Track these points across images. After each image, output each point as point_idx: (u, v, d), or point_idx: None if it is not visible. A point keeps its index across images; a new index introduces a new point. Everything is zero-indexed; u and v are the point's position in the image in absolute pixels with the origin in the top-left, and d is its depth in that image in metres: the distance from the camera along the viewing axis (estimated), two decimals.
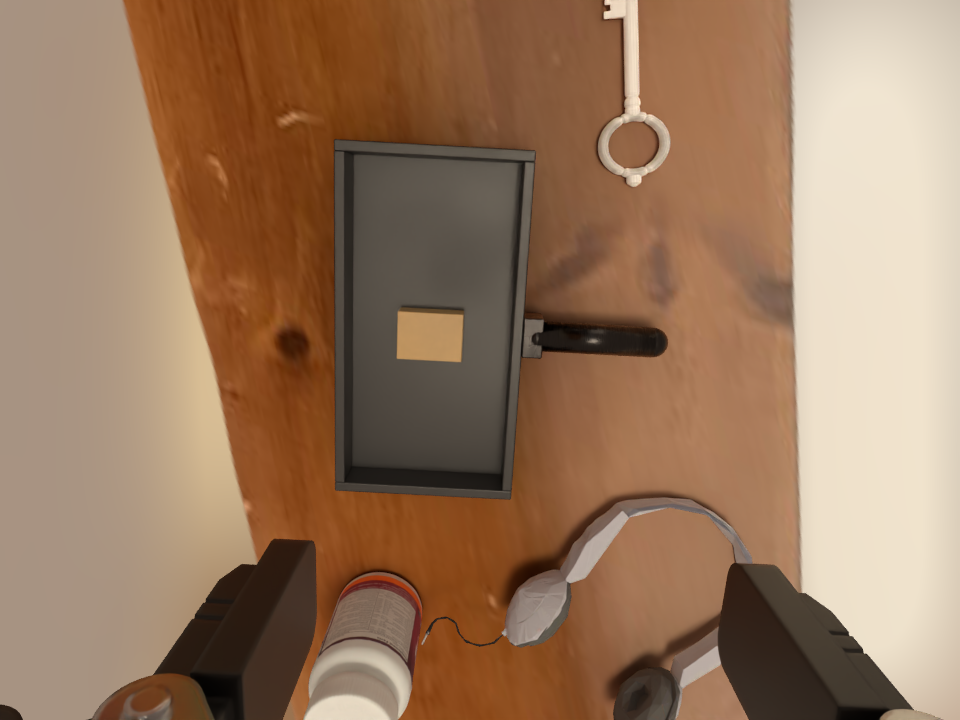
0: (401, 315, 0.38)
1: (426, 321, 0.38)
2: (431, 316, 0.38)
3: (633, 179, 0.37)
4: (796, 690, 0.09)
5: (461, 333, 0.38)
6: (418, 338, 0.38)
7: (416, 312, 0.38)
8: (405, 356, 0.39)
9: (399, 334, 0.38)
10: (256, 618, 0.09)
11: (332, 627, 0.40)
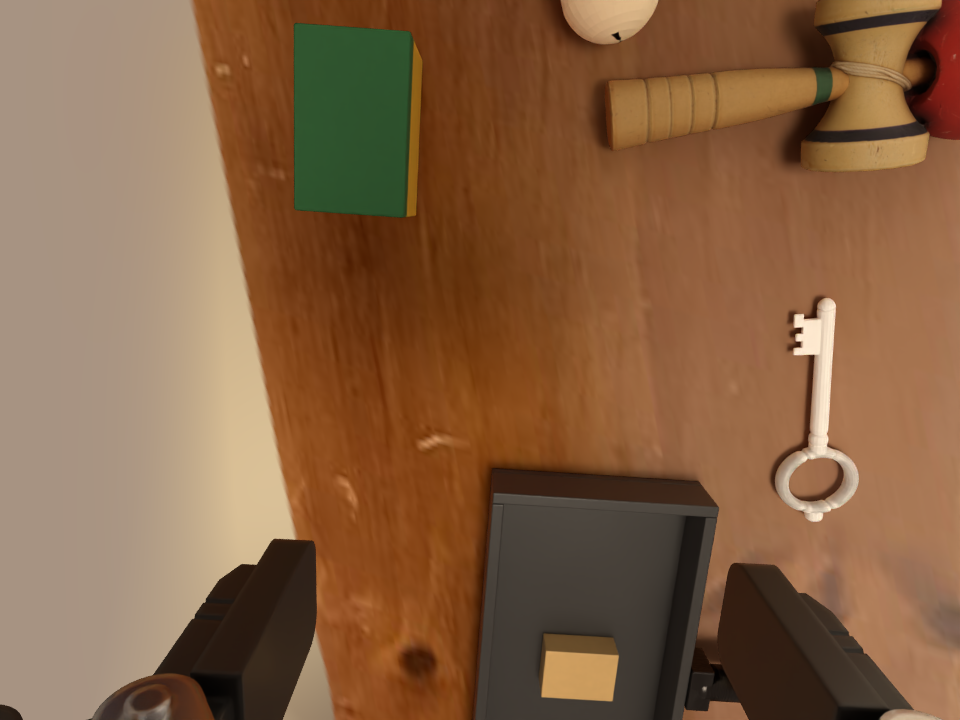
0: (549, 655, 0.34)
1: (577, 661, 0.34)
2: (583, 656, 0.34)
3: (815, 517, 0.33)
4: (796, 690, 0.09)
5: (615, 673, 0.34)
6: (566, 677, 0.34)
7: (566, 652, 0.34)
8: (551, 695, 0.35)
9: (546, 673, 0.34)
10: (256, 618, 0.09)
11: None
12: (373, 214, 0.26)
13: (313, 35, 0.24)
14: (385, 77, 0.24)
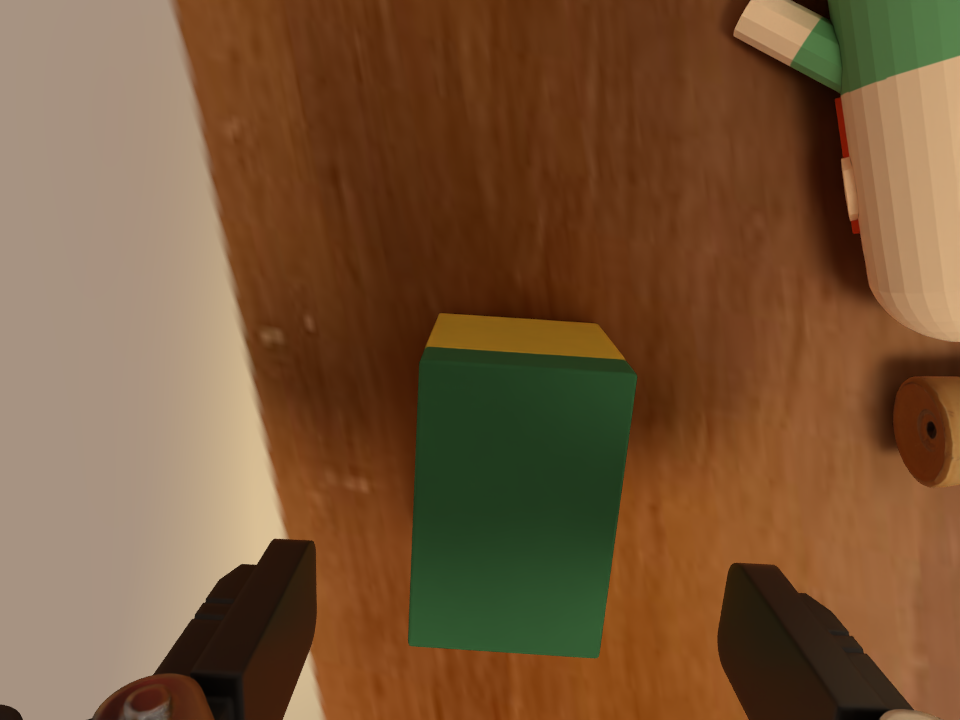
0: None
1: None
2: None
3: None
4: (796, 690, 0.09)
5: None
6: None
7: None
8: None
9: None
10: (256, 618, 0.09)
11: None
12: (546, 653, 0.15)
13: (455, 381, 0.13)
14: (584, 448, 0.13)
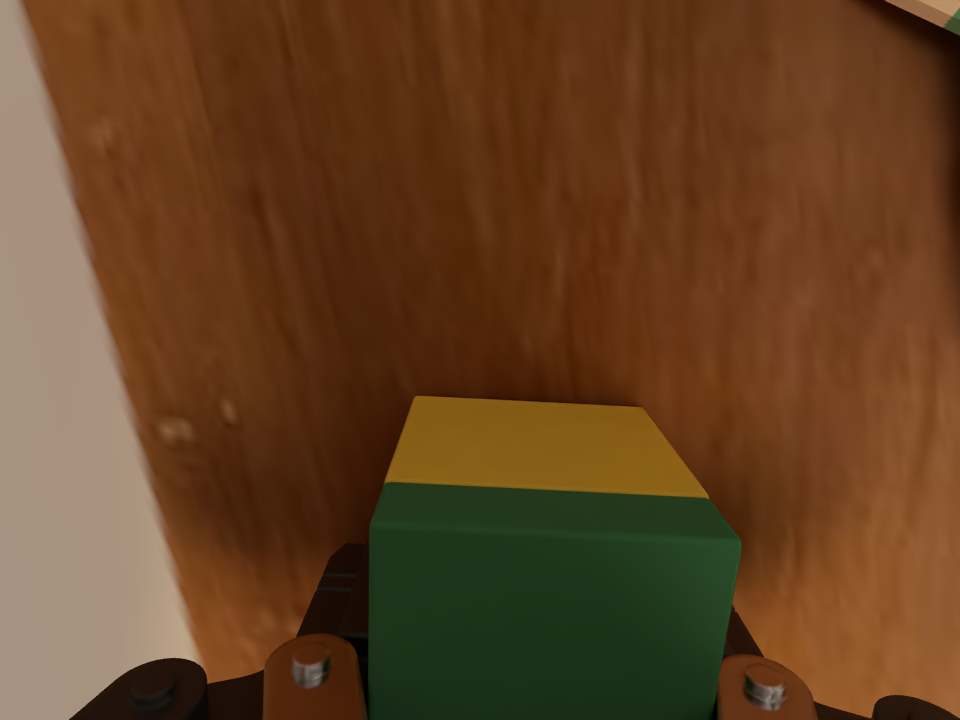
0: None
1: None
2: None
3: None
4: None
5: None
6: None
7: None
8: None
9: None
10: None
11: None
12: None
13: (432, 557, 0.08)
14: (651, 660, 0.08)
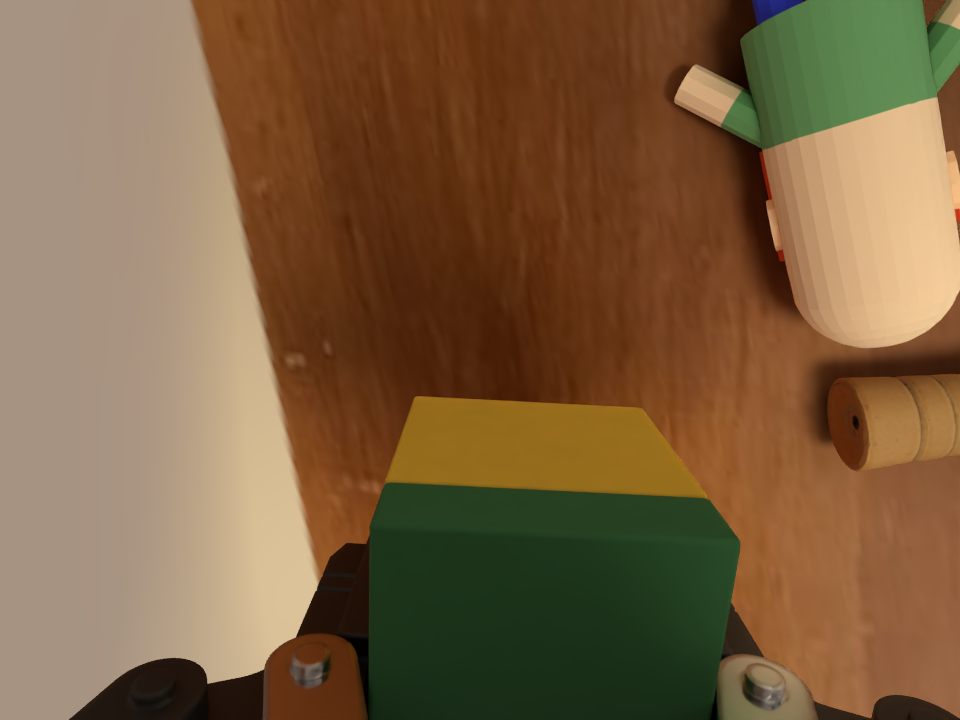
0: None
1: None
2: None
3: None
4: None
5: None
6: None
7: None
8: None
9: None
10: None
11: None
12: None
13: (432, 558, 0.08)
14: (651, 660, 0.08)
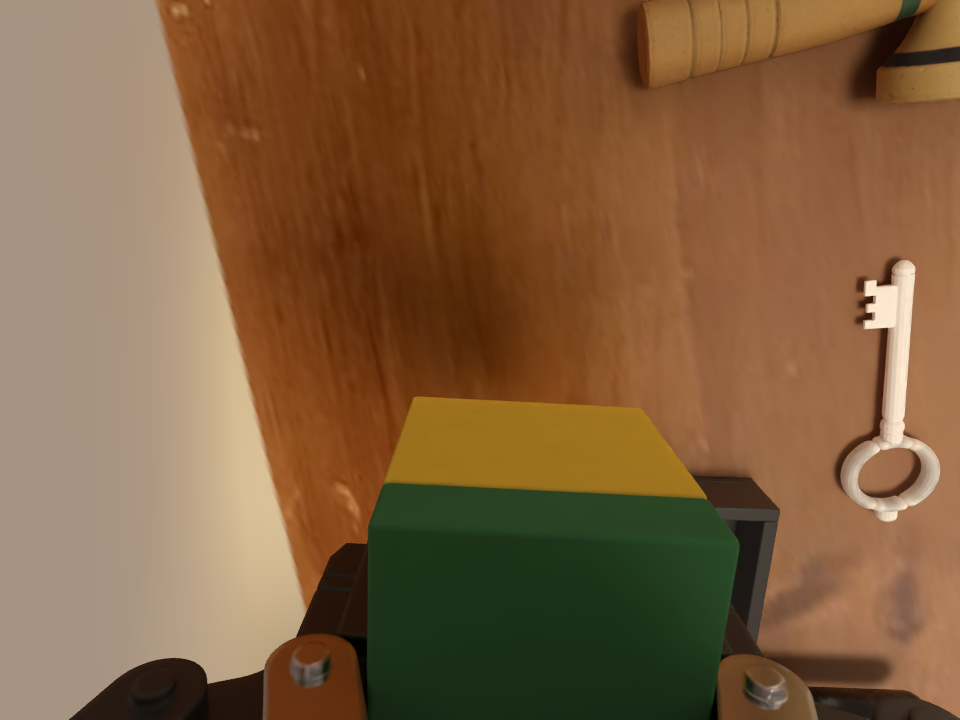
0: None
1: None
2: None
3: (888, 516, 0.29)
4: None
5: None
6: None
7: None
8: None
9: None
10: None
11: None
12: None
13: (431, 558, 0.08)
14: (649, 660, 0.08)
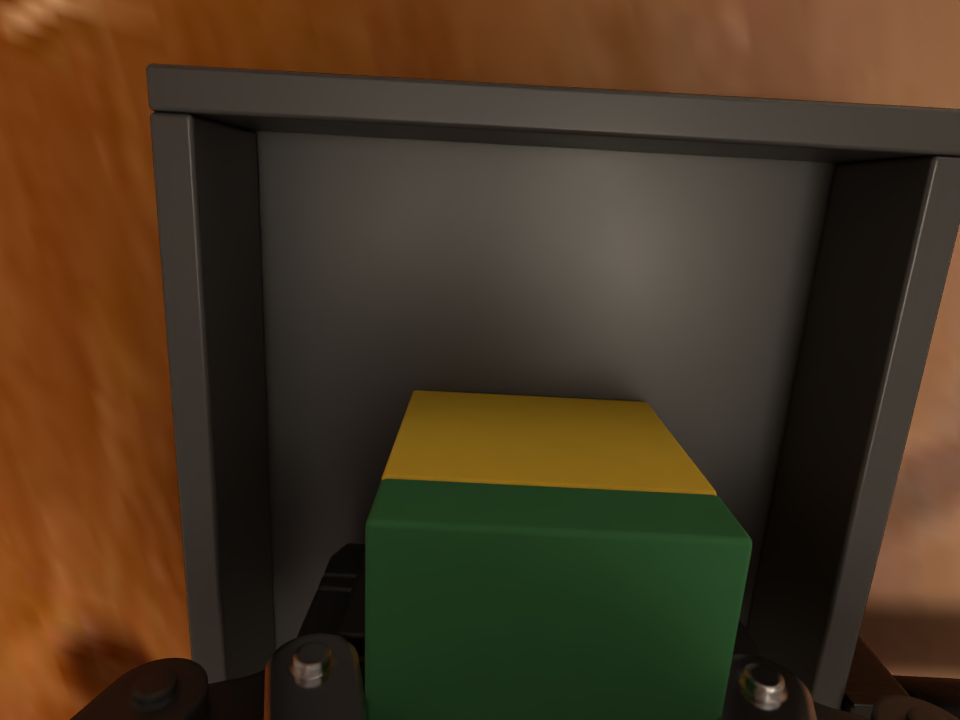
0: None
1: None
2: None
3: None
4: None
5: None
6: None
7: None
8: None
9: None
10: None
11: None
12: None
13: (431, 557, 0.07)
14: (658, 663, 0.08)
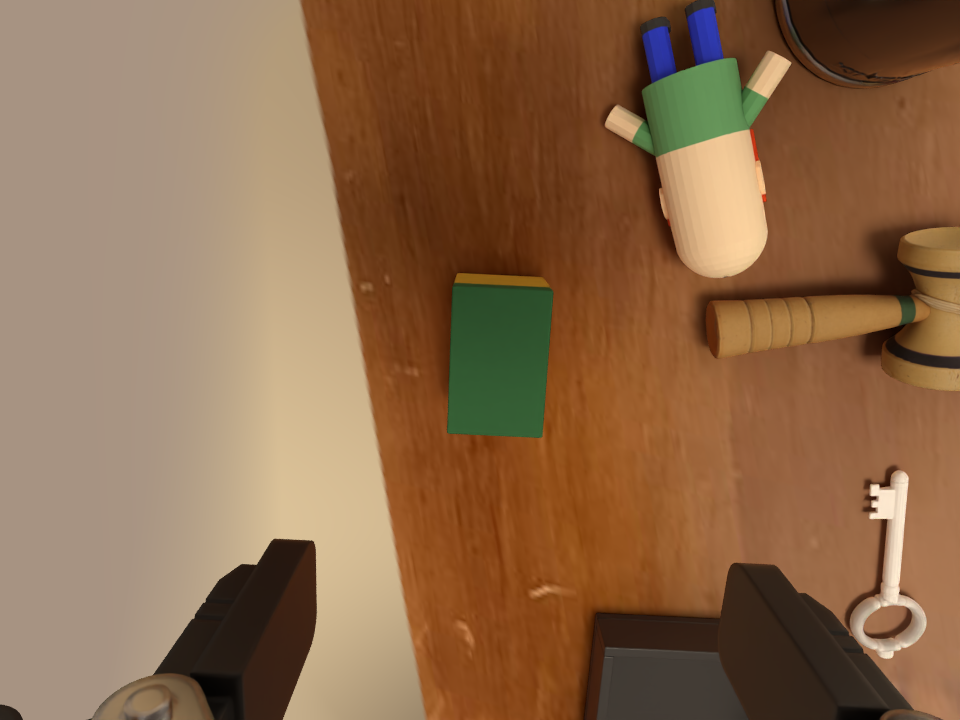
0: None
1: None
2: None
3: (886, 655, 0.37)
4: (796, 690, 0.09)
5: None
6: None
7: None
8: None
9: None
10: (256, 618, 0.09)
11: None
12: (515, 436, 0.30)
13: (469, 296, 0.28)
14: (530, 327, 0.28)
